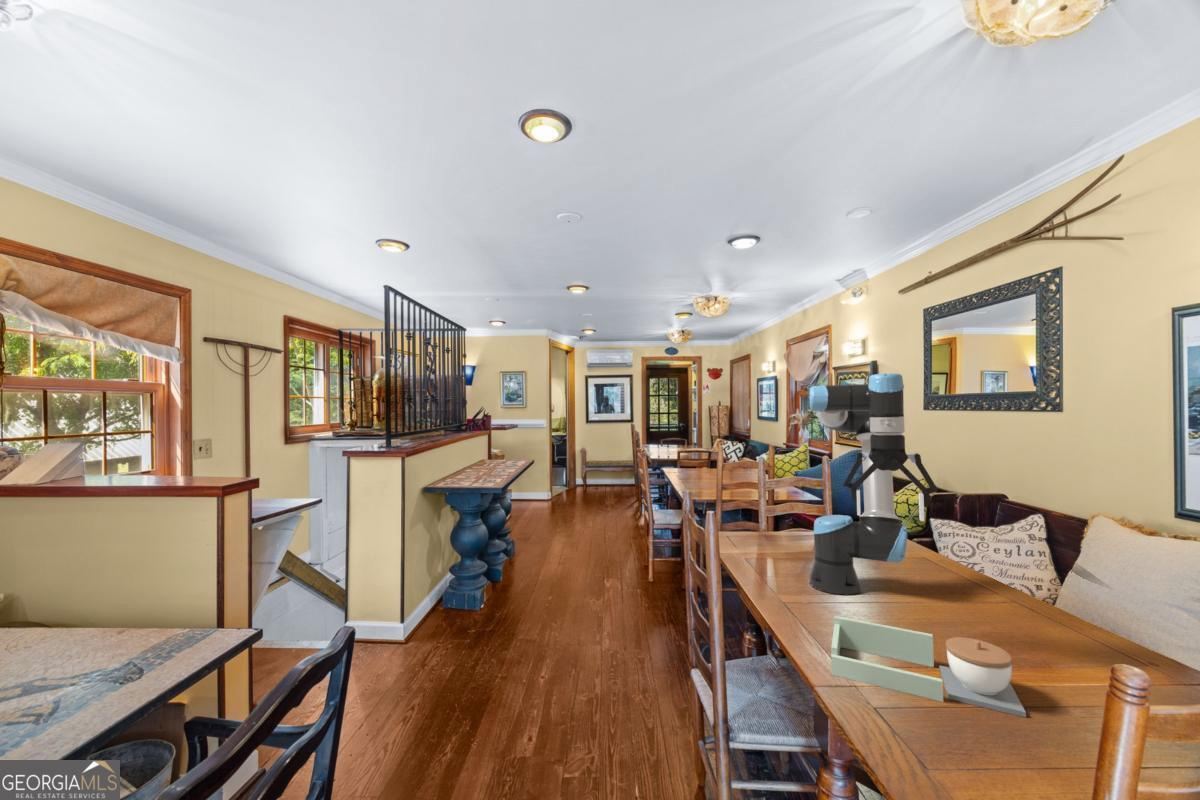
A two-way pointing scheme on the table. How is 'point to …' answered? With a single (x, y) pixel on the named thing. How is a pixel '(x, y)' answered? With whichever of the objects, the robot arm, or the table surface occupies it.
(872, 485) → the robot arm
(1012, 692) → the slate tile
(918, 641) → the frame
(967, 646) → the lidded jar
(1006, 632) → the table surface
